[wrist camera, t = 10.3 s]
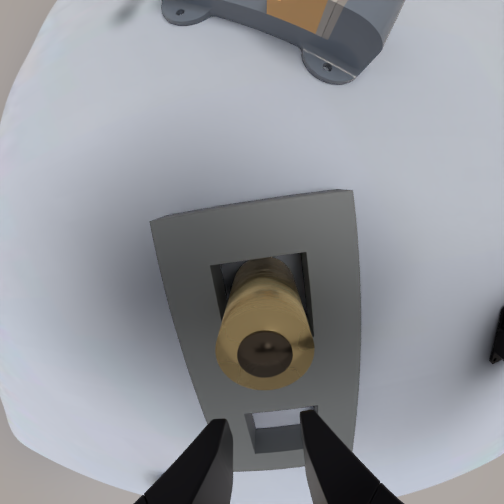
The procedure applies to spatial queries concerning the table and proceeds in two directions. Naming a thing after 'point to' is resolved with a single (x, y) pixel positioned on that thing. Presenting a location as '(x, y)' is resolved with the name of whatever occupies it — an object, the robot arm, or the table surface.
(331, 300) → the jig
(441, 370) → the table surface
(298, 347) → the cylinder
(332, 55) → the vise
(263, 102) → the table surface
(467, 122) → the table surface
